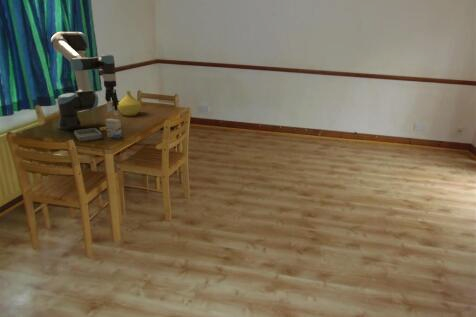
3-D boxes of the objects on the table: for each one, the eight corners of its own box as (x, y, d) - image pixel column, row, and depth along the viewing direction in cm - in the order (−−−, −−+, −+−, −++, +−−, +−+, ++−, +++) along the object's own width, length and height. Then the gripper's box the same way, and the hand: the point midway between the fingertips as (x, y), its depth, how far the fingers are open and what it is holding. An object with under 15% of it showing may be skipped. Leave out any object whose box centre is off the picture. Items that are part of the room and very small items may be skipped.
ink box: (122, 136, 246) (120, 119, 242) (117, 138, 242) (115, 121, 238) (111, 134, 249) (110, 118, 245) (106, 137, 245) (105, 119, 240)
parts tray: (74, 134, 246) (73, 130, 245) (95, 132, 254) (95, 127, 253) (80, 141, 234) (79, 137, 233) (102, 138, 242) (102, 133, 240)
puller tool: (101, 131, 257) (100, 128, 256) (99, 129, 259) (99, 127, 259) (112, 129, 261) (112, 127, 261) (111, 128, 264) (111, 126, 263)
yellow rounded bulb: (140, 111, 313) (139, 88, 306) (142, 116, 297) (141, 93, 290) (118, 112, 307) (116, 89, 300) (118, 117, 291) (116, 93, 284)
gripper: (98, 78, 240) (101, 110, 247) (109, 83, 221) (113, 117, 228) (109, 77, 244) (112, 108, 252) (122, 82, 225) (124, 116, 232)
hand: (112, 113), depth 240 cm, fingers open, 13 cm apart
